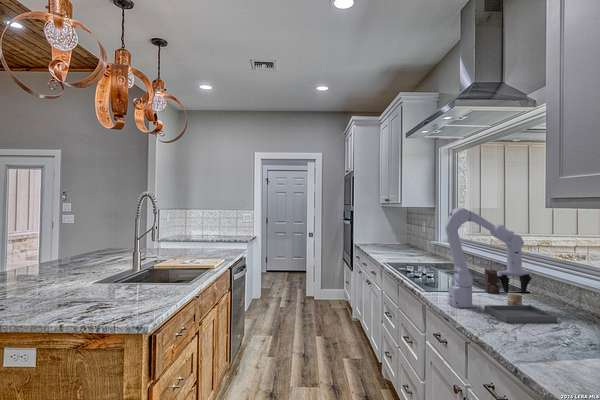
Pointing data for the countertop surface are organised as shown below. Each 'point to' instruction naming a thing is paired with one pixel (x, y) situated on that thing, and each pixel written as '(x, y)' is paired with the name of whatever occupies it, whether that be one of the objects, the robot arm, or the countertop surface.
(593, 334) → the countertop surface
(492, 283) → the box
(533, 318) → the tray
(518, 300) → the maple block
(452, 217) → the robot arm
